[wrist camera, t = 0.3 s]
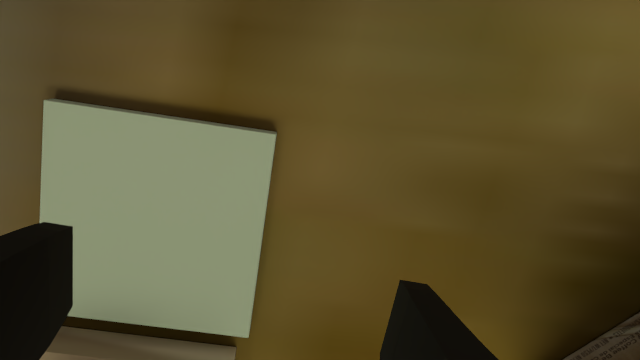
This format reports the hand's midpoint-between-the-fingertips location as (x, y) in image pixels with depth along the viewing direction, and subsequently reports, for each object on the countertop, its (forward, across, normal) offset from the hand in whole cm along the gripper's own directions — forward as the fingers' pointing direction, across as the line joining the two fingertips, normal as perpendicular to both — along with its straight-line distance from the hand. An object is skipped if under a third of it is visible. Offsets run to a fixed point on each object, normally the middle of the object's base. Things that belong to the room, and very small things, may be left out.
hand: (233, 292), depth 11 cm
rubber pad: (+10, +4, +4) cm, 12 cm away
